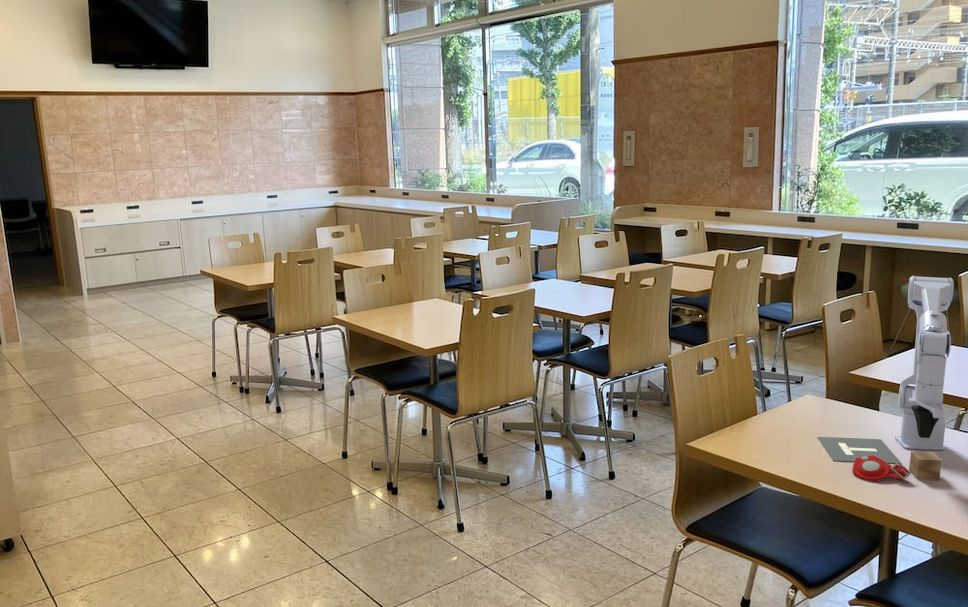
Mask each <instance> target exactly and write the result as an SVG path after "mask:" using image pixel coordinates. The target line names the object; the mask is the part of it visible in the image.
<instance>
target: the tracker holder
mask: <svg viewBox="0 0 968 607" xmlns="http://www.w3.org/2000/svg"><path fill="white" fill-rule="evenodd" d="M901 463H902V462H901ZM901 463H899V462H897V463H896V464H888V463H886V462H885V461H883V460H881V459H880V458H878V457H876V456H864V457H859V458H856V459H855V462H853V465H852V474H853V475H854V477H856V478H858V479H860V480H862V481H867V482H872V483H873V482H874V483H876V482H881V481H883V480H885V479H886V478H888V477H889V478H891V479H894V480H897V481H905V480H906V479H908V478H909V476H911V475H913V474H912V473H911V472H910V471H909V468H906V467H905V466H904V465H903V464H901Z"/></svg>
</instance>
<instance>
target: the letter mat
mask: <svg viewBox="0 0 968 607" xmlns="http://www.w3.org/2000/svg"><path fill="white" fill-rule="evenodd" d="M817 439H818V441H820V443H821V445H822V446H823V447H824V449H825V451H826V452H827V454H828V456H829V457H830V458H831V460H832V461H833V462H846V463H848V462H849V463H854V462H855V459H856V458H859V457H864V456H876V457H878V458H880V459H881V460H883V461H885V462H886V463H887V464H889V465H895V464H896V463H897V462H899V463H901V464H902V462H901V461H900V459H899V458H898V457H897V456H896V455H895V454H894V453H893V452H892V450H891V449H890V448H889V447H888V446H887V444H886V443H885V442H884V441H883V440H882V439H881V438H860V437H856V438H855V437H836V436H835V437H834V436H833V437H832V436H817ZM902 465H903V464H902Z"/></svg>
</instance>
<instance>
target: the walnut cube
mask: <svg viewBox="0 0 968 607" xmlns="http://www.w3.org/2000/svg"><path fill="white" fill-rule="evenodd" d="M941 468H942V459H941V458H940V457H939V456H938V455H937V454H936V453H935V451H921V450H920V451H917V450H914V451H913V450H911V451H910V458H909V468H908V470H909V471H910V472H911V473H912V474H911V475H913V476H914V478H915V479H916V480H931V481H932V480H933V481H934V480H935V481H940V478H941Z"/></svg>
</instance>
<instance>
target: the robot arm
mask: <svg viewBox="0 0 968 607" xmlns="http://www.w3.org/2000/svg"><path fill="white" fill-rule="evenodd" d="M954 286H955V283H954V279H953V278H952V277H931V276H916V275H911V276H910V277H909V280H908V288H907V289H908V290H907V292H908V293H907V304H908V308H909V309H912V310H913V311H915V315H916V320H917V321H916V329H915V330H916V332H915V342H914V343H915V344H914V356H913V357H914V358H913V370H912V373H911V374H909V375H907V376H905V377H903V378H902V379H901V381H900V386H899V390H898V391H899V392H898V400H897V401H898V403H897V404H898V407H899V408H900V410H902V420H901V421H902V422H901V431H900V432H901V433H900V435H895V436H894V438H895V440H897V441H898V443H899V444H900V445H901V447H903V448H904V449H907V450H908V449H909V450H932V451H943V450H945V448H944V442H945V441H944V439H945V431H946V421H945V410H944V409H943V408H944V407H943V406H944V403H943V402H944V384H945V374H946V367H947V358H949V356H950V353H951V347H952V346H951V345H952V338H951V337H952V336H951V333H950V331H949V330H948V323H947V322H948V320H947V316H946V315H945V314H944V313H943V312H945V311H948V309H949V307H950V305H951V303H952V300H953V297H954V290H955V289H954ZM912 385H915V386H912Z"/></svg>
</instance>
